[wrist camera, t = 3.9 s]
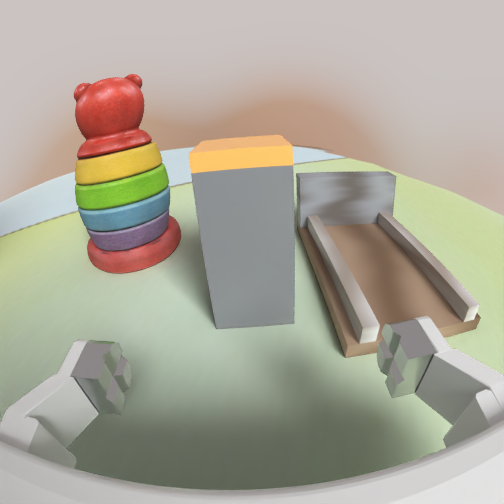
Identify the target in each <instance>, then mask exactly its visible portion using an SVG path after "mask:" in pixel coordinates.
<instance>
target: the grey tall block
mask: <svg viewBox="0 0 504 504" xmlns="http://www.w3.org/2000/svg"><path fill="white" fill-rule="evenodd" d="M189 160H190V168H191V175H192V183H193V190H194V197H195V205H196V211H197V218H198V225H199V231H200V238H201V244H202V250H203V257H204V263H205V269H206V275H207V280H208V286H209V292H210V297H211V303H212V308H213V314H214V319H215V324H216V329H225V328H242V327H257V326H270V325H282V324H293V323H294V301H295V227H294V179H293V150H292V145H291V144H290V143H289V142H288V141H287V140H285V139H284V138H283V137H282V136H281V135H269V136H252V137H239V138H228V139H217V140H208V141H202V142H201V143H199V144H198V145H197V146H196V147H195V148H194V149H193V150H192V151H191V152H190V153H189Z"/></svg>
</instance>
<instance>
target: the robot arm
mask: <svg viewBox="0 0 504 504" xmlns="http://www.w3.org/2000/svg"><path fill="white" fill-rule="evenodd" d="M382 335H383V338H384V339H383V340H382V341H381V342H380V343H379V345H378V349H377V362H378V366H379V368H380V371H381V372H382V373H384V374H385V375H387V379H386V381H385V383H386V386H387V388H388V390H389V393H390V395H391V398H395V397H400V396H404V395H408V394H412V393H415V395H417V396H418V397H419V398H420V399H421V400H423V401H424V402H425V403H426V404H428V405H429V406H430V407H431V408H432V409H434V410H435V411H436V412H437V413H438V414H440V415H441V416H442V417H443V418H445V419H446V420H447V421H448V422H449V423H451V424H452V425H453V426H452V427H451V428H450V430H449V431H448V432H447V433H446V434H445V436H444V438H443V441H444V443H445V446H446V448H444V449H442V450H439V451H437V452H434V453H432V454H429V455H426V456H423V457H421V458H418V459H415V460H412V461H409V462H406V463H403V464H399V465H396V466H393V467H389V468H386V469H382V470H379V471H375V472H371V473H367V474H363V475H358V476H354V477H349V478H345V479H339V480H334V481H329V482H323V483H316V484H309V485H302V486H293V487H283V488H271V489H254V490H205V489H187V488H175V487H166V486H157V485H150V484H143V483H136V482H131V481H125V480H120V479H115V478H110V477H105V476H101V475H97V474H93V473H89V472H85V471H81V470H78V469H75V466H76V463H77V459H76V457H75V456H74V455H73V454H72V453H70V452H69V451H68V450H67V449H66V448H67V447H68V446H69V445H70V444H71V443H72V442H73V441H74V440H75V439H76V438H77V437H78V436H79V435H80V433H81V432H82V431H83V430H84V429H85V428H86V427H87V426H88V425H89V424H90V423H91V422H92V421H93V420H94V419H95V417H96V416H97V415H98V414H99V413H98V412H100V413H109V414H119V415H121V414H122V410H123V407H124V404H125V400H126V397H125V395H124V392H125V391H126V390H127V389H128V388H129V387H130V383H131V368H130V365H129V363H128V361H127V360H126V359H125V358H124V357H122V356H121V354H122V351H123V350H122V348H121V346H120V344H119V343H117V342H107V341H93V340H90V341H89V340H76V341H75V342H74V343H73V345H72V347H71V349H70V351H69V353H68V354H67V356H66V358H65V360H64V362H63V364H62V366H61V368H60V370H59V372H58V374H57V375H56V374H53V375H52V376H50V377H49V378H48V379H46V380H45V381H44V382H42V383H41V384H40V385H38V386H37V387H35V388H34V389H33V390H31V391H30V392H29V393H27V394H26V395H25V396H23V397H22V398H21V399H19V400H18V401H16V402H15V403H14V404H12V405H11V406H10V407H8V408H7V410H6V412H5V414H4V416H3V418H2V420H1V422H0V504H504V375H502V374H501V373H499V372H497V371H495V370H493V369H492V368H490V367H488V366H486V365H484V364H483V363H481V362H479V361H477V360H475V359H473V358H472V357H470V356H468V355H466V354H464V353H463V352H461V351H459V350H457V349H455V348H454V349H451V348H450V346H449V345H448V343H447V342H446V340H445V339H444V337H443V336H442V334H441V333H440V331H439V330H438V328H437V327H436V325H435V324H434V323H433V321H432V320H431V318H430V317H428V316H423V317H419V318H414V319H409V320H404V321H398V322H393V323H387V324H385V325H384V327H383V330H382Z"/></svg>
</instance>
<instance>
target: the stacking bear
mask: <svg viewBox="0 0 504 504" xmlns="http://www.w3.org/2000/svg"><path fill="white" fill-rule="evenodd" d="M141 86H142V80H141V78H140V77H139V76H138V75H135V74H131V75H128V76H126V77H125V78H108V79H104V80H100V81H98V82H96V83H94V84H89V83H82V84H80V85H79V86H77V88H76V89H75V92H74V98H75V100H76V102H77V104H76V110H75V117H76V122H77V125H78V127H79V129H80V131H81V133H82V135H83V136H84V137H85V138H86V142H85V143H83V144H82V145H81V147H80V149H79V150H78V153H77V157H78V160H77V162H76V169H75V180H76V185H75V194H76V202H77V205H78V206H79V207H78V210H79V213H80V216H81V218H82V221H83V223H84V225H85V226H86V229H87V231H88V234H89V235H90V237H91V238H90V239H89V242H88V245H87V250H88V256H89V259H90V261H91V262H92V263H93V265H95V266H96V267H97V268H99V269H101V270H104V271H106V272H111V273H127V272H134V271H138V270H142V269H145V268H148V267H150V266H153V265H155V264H157V263H159V262H161V261H162V260H164V259H165V258H167V257H168V256H169V255H170V254H171V253H172V252H173V251H174V250H175V249H176V247H177V246H178V244H179V242H180V238H181V231H180V227H179V224H178V222H177V221H176V219H175V218H173V217H172V216H169V205H170V187H169V185H168V184H169V179H168V175H167V171H166V168H165V165H164V164H163V163H162V157H161V154H160V152H159V149H158V147H157V145H156V143H155V142H151V140H152V139H151V137H150V136H149V134H148V133H147V132H145V131H143V130H139V125H140V123H141V120H142V117H143V113H144V98H143V94H142V92H141V90H140V88H141Z"/></svg>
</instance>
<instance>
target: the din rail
mask: <svg viewBox="0 0 504 504" xmlns="http://www.w3.org/2000/svg"><path fill="white" fill-rule="evenodd" d="M296 178H297V229H298V232H299V234H300V237H301V239H302V242H303V244H304V247H305V249H306V252H307V254H308V257H309V259H310V262H311V265H312V267H313V270H314V272H315V275H316V278H317V280H318V283H319V285H320V288H321V291H322V294H323V296H324V299H325V302H326V304H327V307H328V310H329V313H330V315H331V318H332V321H333V324H334V326H335V329H336V332H337V335H338V338H339V341H340V344H341V346H342V349H343V352H344V355H345V358H346V357H353V356H359V355H365V354H370V353H376V352H377V349H378V345H379V343H380V342H381V341H382V340H383V339H384V338H383V335H382V330H383V327H384V325H385V324H387V323H393V322H398V321H404V320H409V319H414V318H419V317H423V316H428V317H430V318H431V320H432V321H433V323H434V324H435V325H436V327H437V328H438V330H439V331H440V333H441V334H442V336H443V337H448V336H452V335H456V334H459V333H463V332H466V331H470V330H473V329H476V327H477V325H478V323H479V320H480V318H481V317H480V316H479V315H478V314H477V311H478V308H479V304H478V302H477V301H476V300H475V299H474V298H473V297H472V296H471V294H470V293H469V292H468V291H467V290H466V289H465V288H464V287H463V286H462V284H461V283H460V282H459V281H458V280H457V279H456V278H455V277H454V276H453V275H452V274H451V273H450V272H449V271H448V270H447V269H446V267H445V266H444V265H443V264H442V263H441V262H440V261H439V260H438V259H437V258H436V257H435V256H434V255H433V254H432V253H431V252H430V251H429V250H428V249H427V248H426V247H425V246H424V245H423V244H422V243H420V242H419V241H418V240H417V239H416V238H415V237H414V236H413V235H412V234H411V233H410V232H409V231H408V230H407V229H406V228H405V227H403V226H402V225H401V224H400V223H399V222H398V221H397V220H396V219H395V218H394V217H393V207H394V197H395V185H396V176H394V175H393V174H391V173H389V172H317V173H296Z"/></svg>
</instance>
